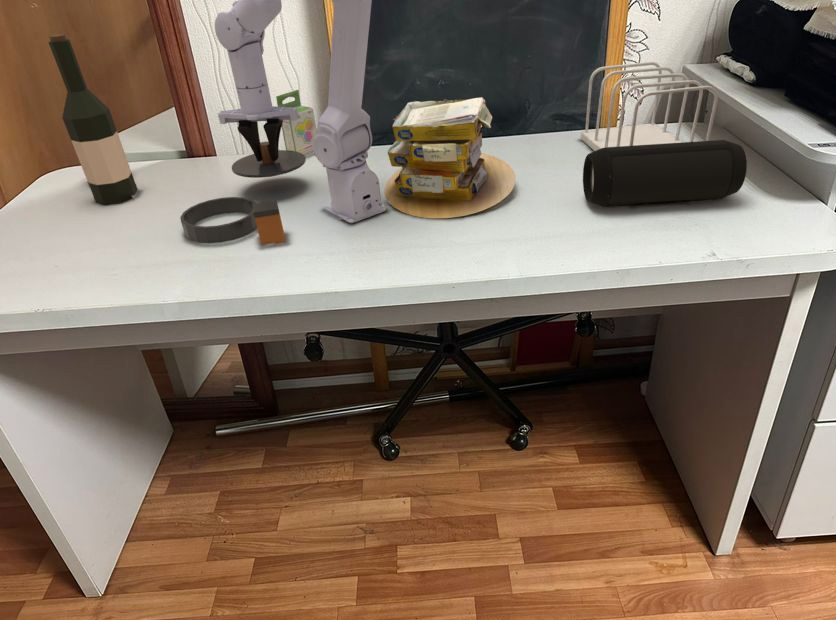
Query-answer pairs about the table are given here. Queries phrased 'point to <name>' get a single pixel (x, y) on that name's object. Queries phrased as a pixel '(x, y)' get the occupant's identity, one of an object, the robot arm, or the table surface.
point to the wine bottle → (92, 132)
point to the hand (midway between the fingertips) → (268, 159)
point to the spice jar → (268, 222)
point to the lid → (268, 163)
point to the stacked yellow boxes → (445, 161)
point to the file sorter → (643, 132)
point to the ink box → (298, 125)
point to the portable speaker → (663, 173)
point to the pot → (221, 231)
